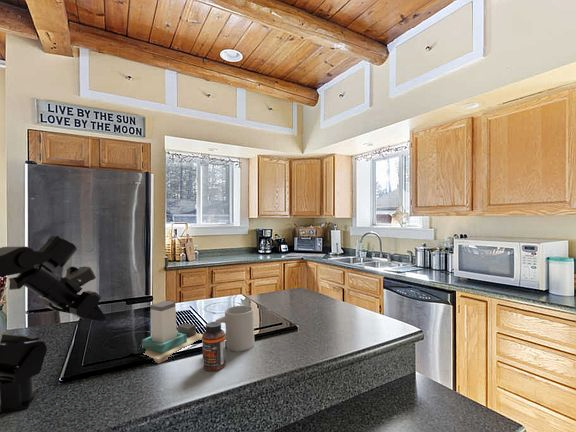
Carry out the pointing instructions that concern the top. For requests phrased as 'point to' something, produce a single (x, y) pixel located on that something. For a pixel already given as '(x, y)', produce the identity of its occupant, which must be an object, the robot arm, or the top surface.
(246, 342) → the mug
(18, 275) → the robot arm
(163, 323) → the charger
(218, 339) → the supplement bottle
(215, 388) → the top surface
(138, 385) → the top surface
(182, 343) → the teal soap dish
